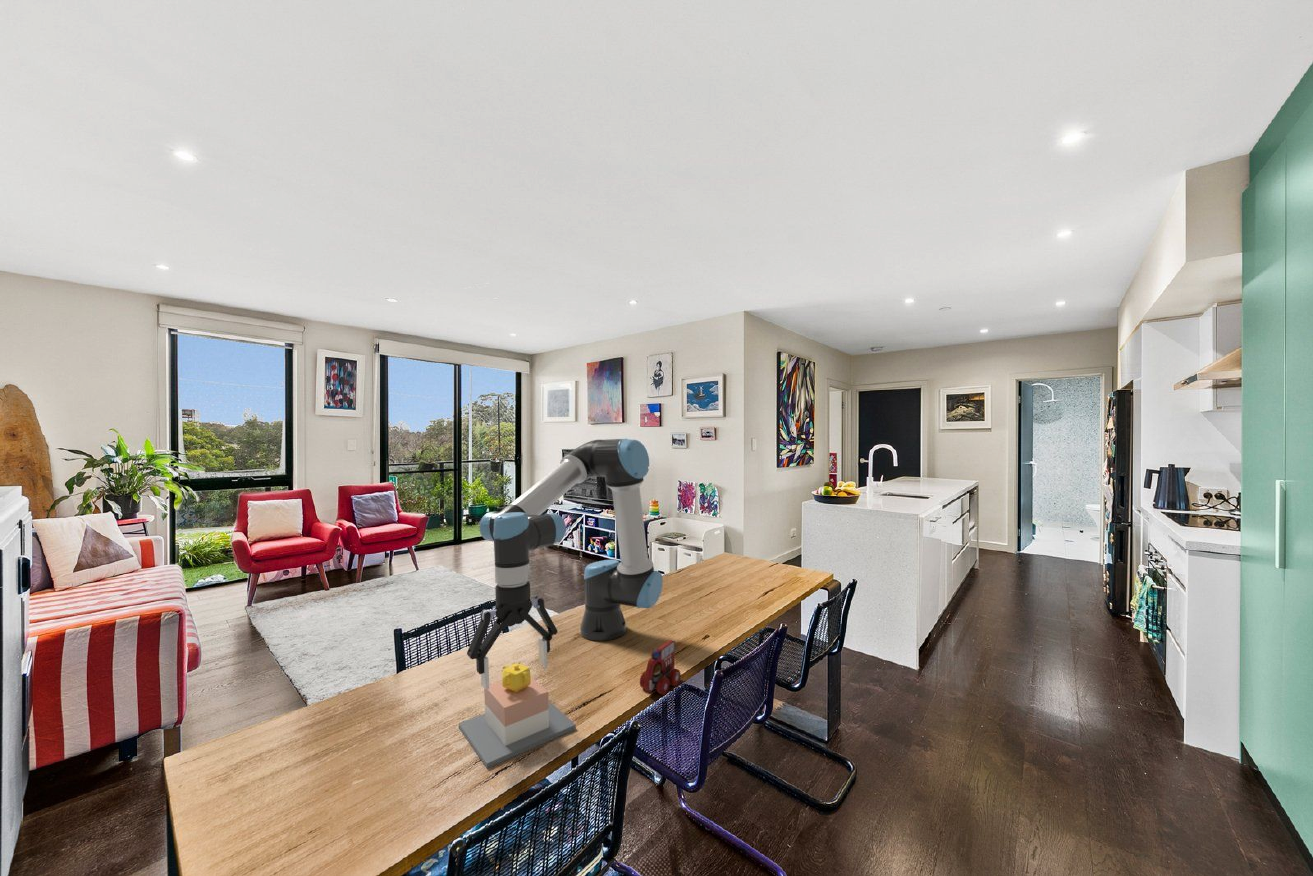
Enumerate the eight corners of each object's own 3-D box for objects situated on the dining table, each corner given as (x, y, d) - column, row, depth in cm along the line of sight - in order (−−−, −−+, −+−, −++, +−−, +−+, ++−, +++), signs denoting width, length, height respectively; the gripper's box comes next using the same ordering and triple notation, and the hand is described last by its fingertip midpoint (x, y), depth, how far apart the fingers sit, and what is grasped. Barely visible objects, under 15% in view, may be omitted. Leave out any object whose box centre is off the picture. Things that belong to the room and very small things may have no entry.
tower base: (540, 696, 125) (539, 661, 125) (575, 729, 111) (574, 689, 111) (458, 727, 112) (457, 688, 112) (486, 768, 98) (485, 723, 98)
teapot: (491, 690, 111) (491, 667, 111) (512, 679, 116) (511, 657, 116) (515, 700, 107) (515, 676, 107) (536, 688, 112) (535, 665, 111)
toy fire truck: (635, 693, 126) (634, 652, 125) (663, 673, 136) (662, 635, 135) (657, 701, 121) (656, 659, 121) (684, 680, 132) (683, 641, 131)
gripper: (555, 568, 122) (557, 654, 122) (450, 590, 106) (452, 689, 107) (570, 575, 116) (572, 665, 116) (461, 599, 100) (464, 703, 101)
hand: (515, 676), depth 111 cm, fingers open, 13 cm apart
